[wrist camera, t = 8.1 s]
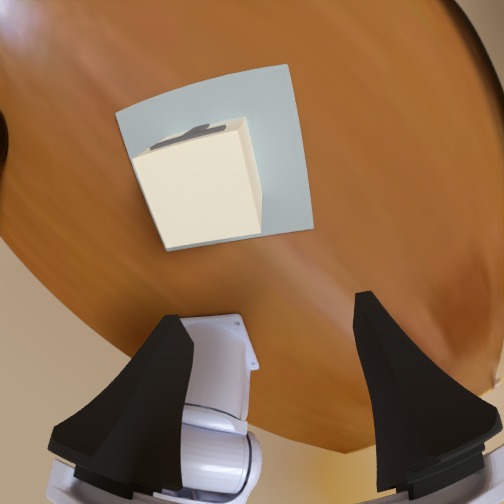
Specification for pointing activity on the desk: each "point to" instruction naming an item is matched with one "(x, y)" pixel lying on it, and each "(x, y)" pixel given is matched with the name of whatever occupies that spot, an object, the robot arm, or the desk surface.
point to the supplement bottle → (3, 138)
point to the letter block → (203, 184)
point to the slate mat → (260, 129)
